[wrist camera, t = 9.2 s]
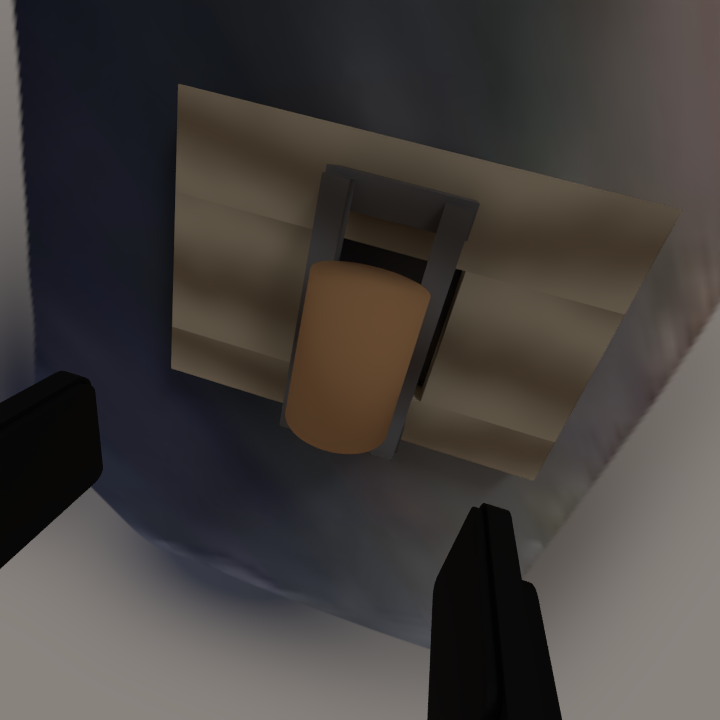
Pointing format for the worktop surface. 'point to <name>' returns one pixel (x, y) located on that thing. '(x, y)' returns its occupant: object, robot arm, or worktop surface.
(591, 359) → the wooden plate
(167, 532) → the worktop surface
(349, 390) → the tan cylinder
